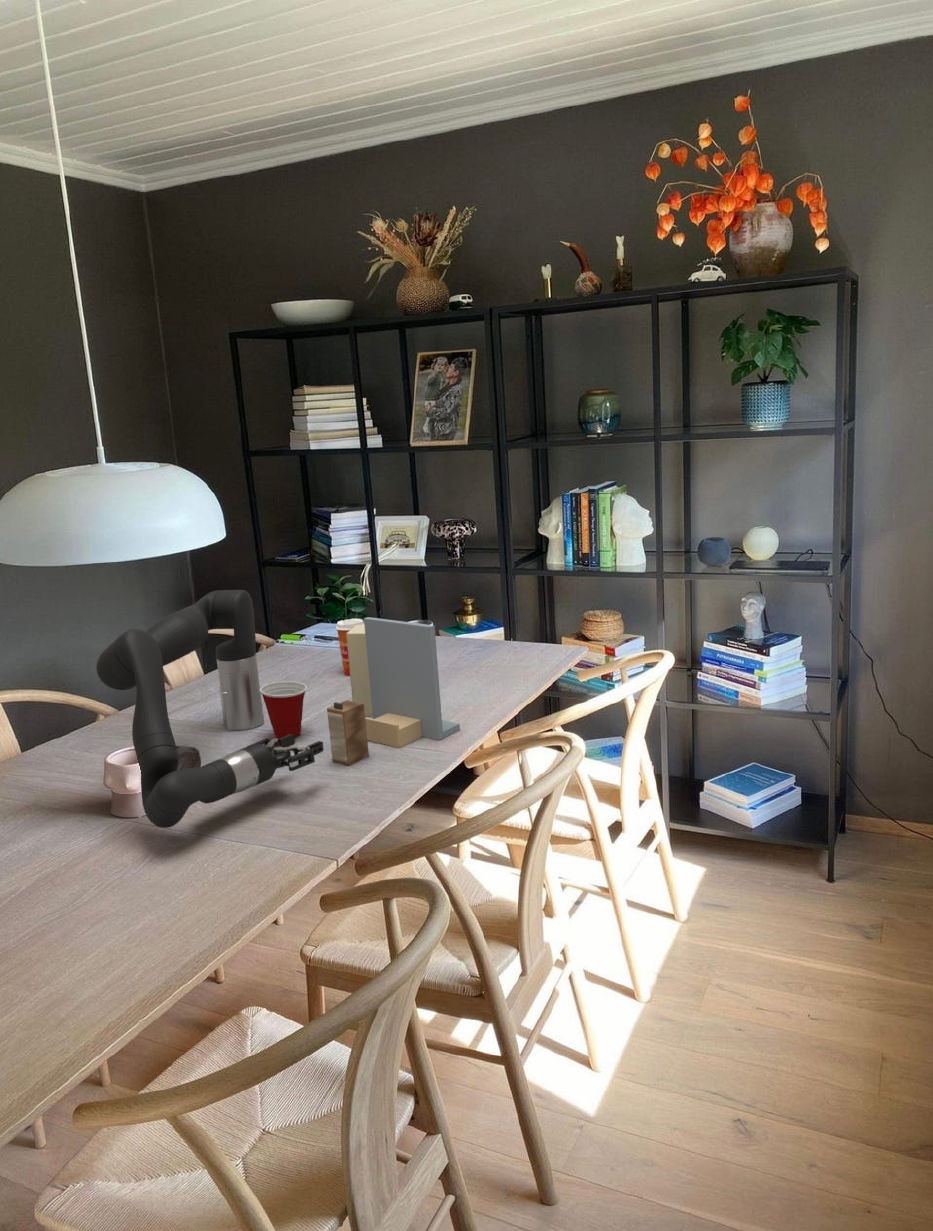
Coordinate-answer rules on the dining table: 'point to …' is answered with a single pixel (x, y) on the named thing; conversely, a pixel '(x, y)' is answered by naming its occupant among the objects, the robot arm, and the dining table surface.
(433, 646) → the wall board
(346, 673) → the coffee cup
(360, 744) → the walnut cabinet
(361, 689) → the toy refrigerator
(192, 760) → the perforated stone tool
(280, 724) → the plastic cup
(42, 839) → the dining table surface
